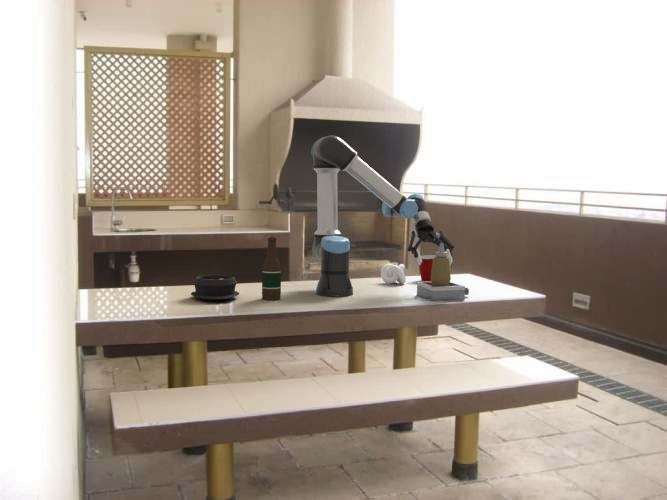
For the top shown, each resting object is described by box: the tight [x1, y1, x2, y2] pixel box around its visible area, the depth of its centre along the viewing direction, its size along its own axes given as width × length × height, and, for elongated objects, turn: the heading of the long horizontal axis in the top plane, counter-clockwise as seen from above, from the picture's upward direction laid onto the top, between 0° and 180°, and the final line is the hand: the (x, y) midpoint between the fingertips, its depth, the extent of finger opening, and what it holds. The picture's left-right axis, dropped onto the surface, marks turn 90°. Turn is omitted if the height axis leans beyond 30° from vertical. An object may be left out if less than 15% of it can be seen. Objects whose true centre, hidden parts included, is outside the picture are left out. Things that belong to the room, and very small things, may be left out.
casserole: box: [190, 274, 240, 302], centre depth 260 cm, size 25×19×8 cm
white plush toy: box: [380, 263, 407, 285], centre depth 312 cm, size 11×12×9 cm
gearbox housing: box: [416, 281, 470, 302], centre depth 274 cm, size 19×15×6 cm
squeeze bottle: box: [431, 243, 452, 286], centre depth 273 cm, size 8×8×18 cm
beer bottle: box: [261, 236, 282, 301], centre depth 261 cm, size 8×8×24 cm
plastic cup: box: [418, 254, 437, 282], centre depth 324 cm, size 11×11×12 cm
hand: (435, 263), depth 278 cm, fingers open, 13 cm apart
